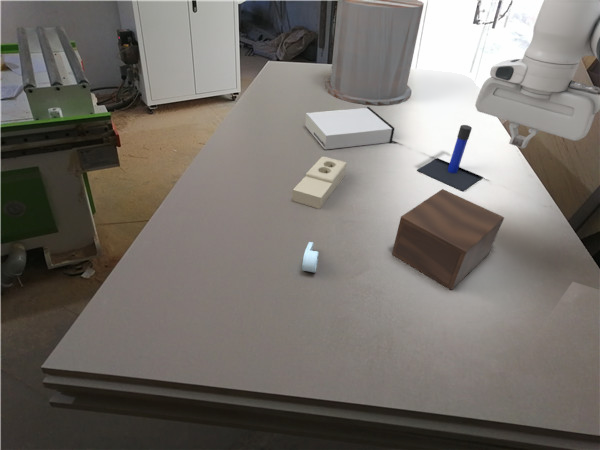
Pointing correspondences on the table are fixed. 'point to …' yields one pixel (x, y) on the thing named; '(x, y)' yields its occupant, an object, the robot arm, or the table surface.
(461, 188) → the mat
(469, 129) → the marker
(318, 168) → the electrical outlet
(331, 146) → the disc drive
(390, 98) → the storage basket
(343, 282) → the table surface
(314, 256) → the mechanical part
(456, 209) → the cabinet
